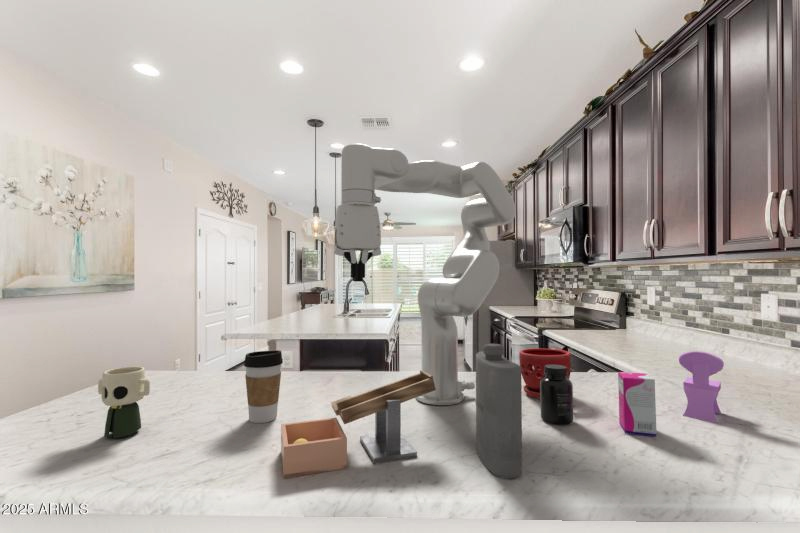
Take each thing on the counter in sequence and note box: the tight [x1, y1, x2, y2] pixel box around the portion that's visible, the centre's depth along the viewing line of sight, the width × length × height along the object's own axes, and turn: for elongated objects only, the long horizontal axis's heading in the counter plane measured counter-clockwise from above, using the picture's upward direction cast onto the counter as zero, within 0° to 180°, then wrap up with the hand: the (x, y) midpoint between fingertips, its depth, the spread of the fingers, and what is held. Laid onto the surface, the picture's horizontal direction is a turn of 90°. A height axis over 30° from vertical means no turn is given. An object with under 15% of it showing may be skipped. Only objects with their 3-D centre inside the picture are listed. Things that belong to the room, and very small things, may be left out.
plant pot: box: [518, 347, 572, 400], centre depth 106 cm, size 13×13×12 cm
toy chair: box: [678, 350, 725, 423], centre depth 92 cm, size 8×9×15 cm
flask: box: [475, 343, 523, 480], centre depth 70 cm, size 15×6×20 cm, turn 2°
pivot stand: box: [359, 399, 418, 464], centre depth 74 cm, size 8×10×10 cm
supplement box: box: [617, 371, 657, 438], centre depth 82 cm, size 6×6×12 cm
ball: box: [293, 439, 308, 444], centre depth 68 cm, size 3×3×3 cm
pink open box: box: [280, 417, 348, 479], centre depth 69 cm, size 10×10×5 cm
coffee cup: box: [243, 349, 284, 424], centre depth 89 cm, size 8×8×15 cm
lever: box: [330, 369, 436, 425], centre depth 76 cm, size 18×10×3 cm, turn 110°
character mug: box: [97, 365, 151, 438], centre depth 80 cm, size 11×7×13 cm, turn 86°
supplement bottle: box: [539, 365, 574, 426], centre depth 88 cm, size 7×7×12 cm
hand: (357, 281), depth 89 cm, fingers closed
